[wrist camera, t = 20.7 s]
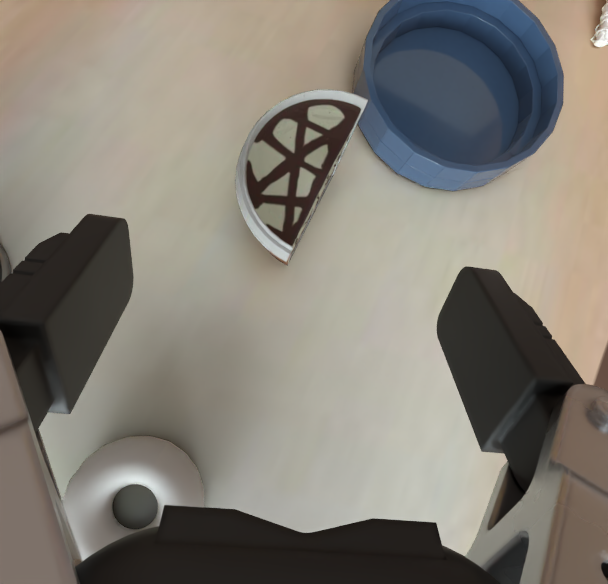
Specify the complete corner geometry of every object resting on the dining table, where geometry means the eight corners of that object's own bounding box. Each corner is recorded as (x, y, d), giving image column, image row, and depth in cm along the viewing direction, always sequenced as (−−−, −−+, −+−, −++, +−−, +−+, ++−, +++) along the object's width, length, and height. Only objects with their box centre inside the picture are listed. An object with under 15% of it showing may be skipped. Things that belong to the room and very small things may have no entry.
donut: (60, 562, 31) (196, 574, 31) (35, 588, 27) (187, 602, 28) (88, 423, 32) (217, 439, 33) (68, 432, 29) (212, 449, 29)
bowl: (343, 176, 37) (355, 153, 33) (360, 2, 39) (373, -42, 35) (526, 204, 39) (562, 186, 34) (532, 35, 41) (565, -2, 37)
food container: (279, 128, 37) (288, 48, 27) (340, 160, 37) (371, 93, 27) (214, 247, 35) (197, 209, 25) (279, 280, 35) (288, 255, 25)
